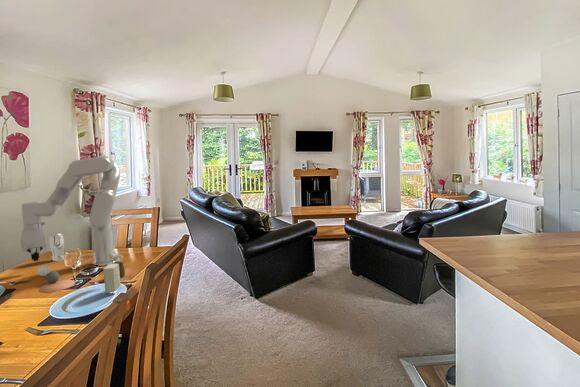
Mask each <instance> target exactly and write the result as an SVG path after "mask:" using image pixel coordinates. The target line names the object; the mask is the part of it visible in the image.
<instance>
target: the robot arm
mask: <svg viewBox="0 0 580 387" xmlns="http://www.w3.org/2000/svg"><path fill="white" fill-rule="evenodd" d="M98 174H102V177H101V181H100V185H99V187H98V188H99V189H98V191H97V193H96V194H95V196H94V199H93V203H92V205H91V206H92V207H91V209H90V212H89V213H90V214H89V217H88V221H89V223H90V225H91V228H92V229H91V230H92V239H93V248H94V249H93V250H94V258H95V261H96V263H93V262H92V265H93V264H96V265H98V266H97V267H103V266H104V267H105V266H107V265H108V264H112V260H111V259H110V256H109V255H110V254H111V256H112V258H113V263H115V262H119V259H124V255H123V254H121V253H120V254H117V253H116V252H115V248H114V238H113V237H114V236H113V228H112V227H113V225H112V211H113V208H114V206H115V205H114V204H115V201H116V195H117V190H118V186H119V183H120V177H121V174H120V168H119V166H118V164H117V163H116V161H114V160H113V159H112V158H111V157H109V156H107V155H100V156H95V157H91V158H90V157H89V158H84V159H77V160H72V161H71V162H70V163H69V165H68V168H67V169H66V171H65V172H64V173H63V175H62V176H61V177H60V179H58V181H57V183H56V186H55V189H54V190H53V191H52V193H51V194H50V195H49V197H48V198H47V200H46V201H44V202H40V203H39V202H38V201H30V202H24V203H22V204H21V213H22V214H21V215H22V226H23V229H21V232H20V246H21V252H24V253H25V252H26V253H27V252H28V253H29V254H30V256H31V257H30V258H31V260H32V261H33V262H38V261H39V259H40V252H41V251H42V250H44V249H46V248H48V245H47V237H46V232H45V229H44V227H43V226H45V225H46V223H45V222H42V217H48V218H49V217H53V216H54V215H56V213H58V211H60V209H61V208H62V207H63V205H64V204H65V203H66V201H67V200H68V199H69V197H70V196H71V195H72V194H73V193H74V192H75V190H76V189H77V187H78V186H79V185H80V184H81V182H83V179H84V178H85V177H86V176H92V175H98ZM34 249H35V250H34ZM121 256H123V257H122V258H121ZM119 257H120V258H119Z"/></svg>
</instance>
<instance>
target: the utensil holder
mask: <svg viewBox="0 0 580 387" xmlns="http://www.w3.org/2000/svg"><path fill="white" fill-rule="evenodd" d="M109 256H110V259H111V260H112V264H118V263H119V272H120V279H121V278H124V277H125V276H126V272H125V271H126V269H125V266H124V262H123V260H124V259H123V258H124V255H123V256H121V258H120V257H119V258H118V261H117V262H115V263H113V258H112V256H111V254H110V255H109ZM122 257H123V258H122Z"/></svg>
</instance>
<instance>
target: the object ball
mask: <svg viewBox="0 0 580 387" xmlns="http://www.w3.org/2000/svg"><path fill="white" fill-rule="evenodd" d="M45 280H46V282H47V283H55V282H57V281H60V274H59V272H58V271H50V272H49V273H48V274H47V275H46V276H45Z"/></svg>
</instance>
